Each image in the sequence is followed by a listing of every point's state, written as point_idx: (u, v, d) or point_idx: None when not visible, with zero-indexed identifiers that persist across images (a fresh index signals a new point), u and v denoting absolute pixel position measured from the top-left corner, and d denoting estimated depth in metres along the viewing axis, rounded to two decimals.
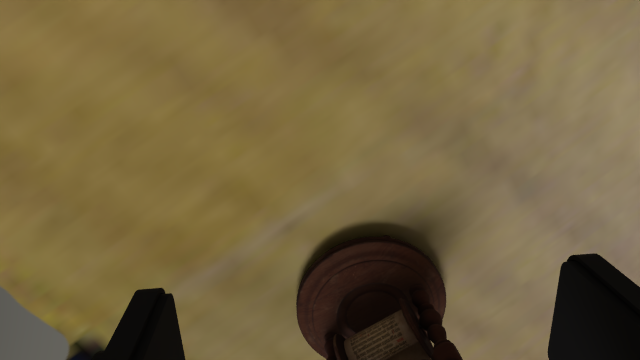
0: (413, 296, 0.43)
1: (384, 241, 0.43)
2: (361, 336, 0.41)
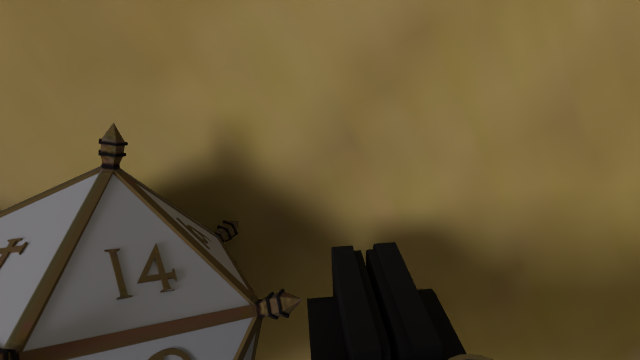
0: None
1: None
2: None
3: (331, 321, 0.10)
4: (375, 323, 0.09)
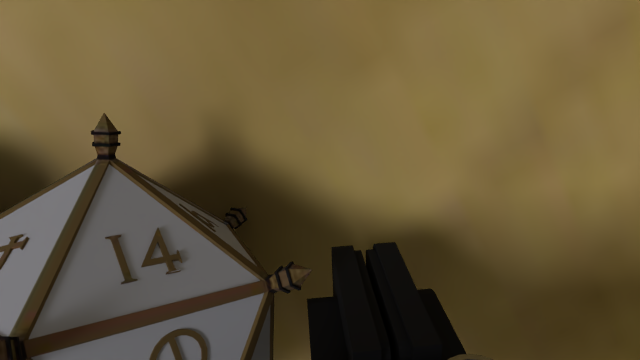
0: None
1: None
2: None
3: (330, 320, 0.10)
4: (375, 323, 0.09)
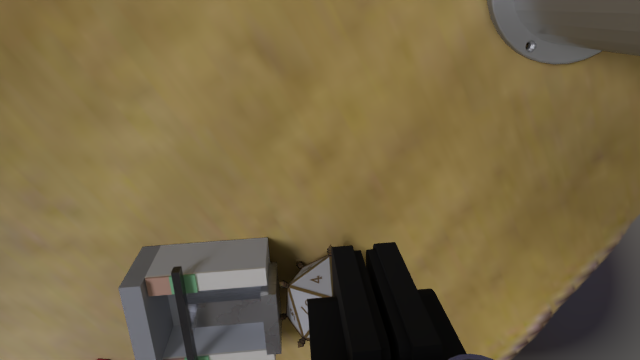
0: None
1: None
2: None
3: (331, 320, 0.10)
4: (375, 323, 0.09)
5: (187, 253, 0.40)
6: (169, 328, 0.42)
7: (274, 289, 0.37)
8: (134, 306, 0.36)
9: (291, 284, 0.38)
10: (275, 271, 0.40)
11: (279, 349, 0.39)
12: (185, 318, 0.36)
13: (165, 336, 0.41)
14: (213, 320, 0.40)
